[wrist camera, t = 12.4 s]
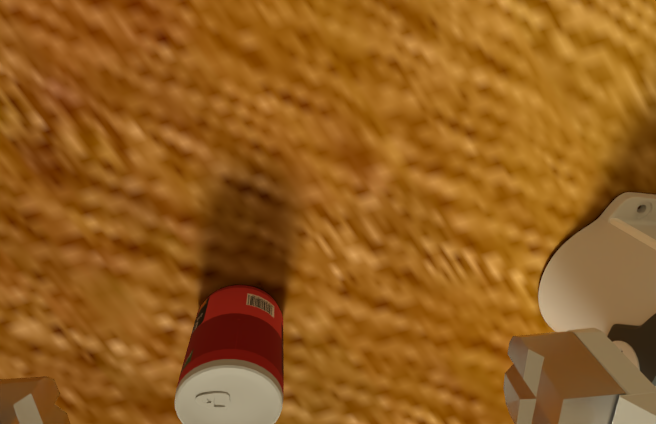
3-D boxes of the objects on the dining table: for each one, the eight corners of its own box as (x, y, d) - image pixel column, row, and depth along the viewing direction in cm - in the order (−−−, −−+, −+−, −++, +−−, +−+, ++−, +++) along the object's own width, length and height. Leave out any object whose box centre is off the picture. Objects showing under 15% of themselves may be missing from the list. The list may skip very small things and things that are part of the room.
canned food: (189, 288, 44) (161, 374, 34) (276, 276, 44) (274, 357, 34) (207, 354, 47) (187, 450, 37) (288, 342, 47) (290, 434, 37)
